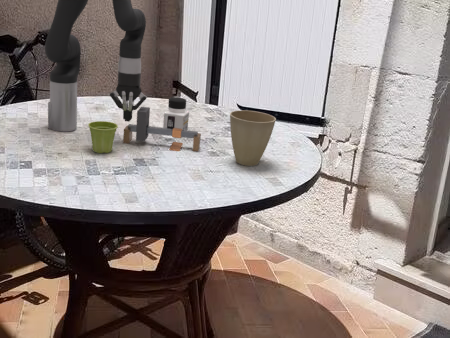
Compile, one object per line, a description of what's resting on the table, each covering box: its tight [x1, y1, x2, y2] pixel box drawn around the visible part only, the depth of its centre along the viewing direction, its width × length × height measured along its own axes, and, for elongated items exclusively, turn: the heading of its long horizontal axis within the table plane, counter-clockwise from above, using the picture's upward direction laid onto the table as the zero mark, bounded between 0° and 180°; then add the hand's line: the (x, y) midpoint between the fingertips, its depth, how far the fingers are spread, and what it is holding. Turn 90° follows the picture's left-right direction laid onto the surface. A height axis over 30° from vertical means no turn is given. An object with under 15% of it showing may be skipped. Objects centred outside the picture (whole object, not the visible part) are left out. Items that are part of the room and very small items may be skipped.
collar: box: [135, 106, 151, 143], centre depth 192 cm, size 3×7×10 cm, turn 177°
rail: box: [122, 123, 202, 152], centre depth 193 cm, size 26×9×6 cm, turn 87°
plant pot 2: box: [229, 109, 277, 167], centre depth 183 cm, size 15×15×16 cm
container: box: [162, 96, 190, 131], centre depth 210 cm, size 8×8×13 cm
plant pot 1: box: [87, 120, 119, 154], centre depth 181 cm, size 9×9×9 cm
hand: (127, 120), depth 192 cm, fingers closed
